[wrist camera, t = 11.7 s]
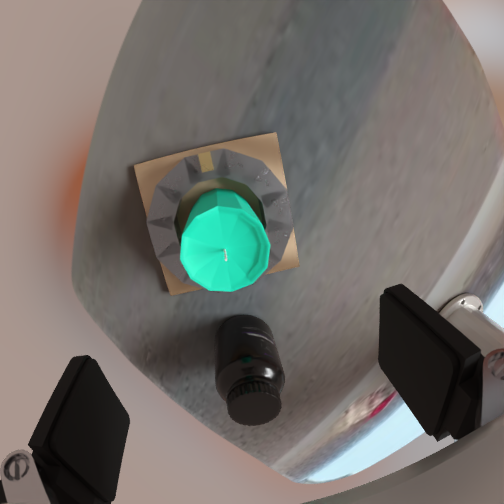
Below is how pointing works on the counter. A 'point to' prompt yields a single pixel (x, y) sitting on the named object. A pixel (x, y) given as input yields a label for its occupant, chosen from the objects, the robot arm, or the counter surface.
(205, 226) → the candle
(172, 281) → the oak board
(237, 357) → the supplement bottle
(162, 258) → the steel collar
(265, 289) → the counter surface
